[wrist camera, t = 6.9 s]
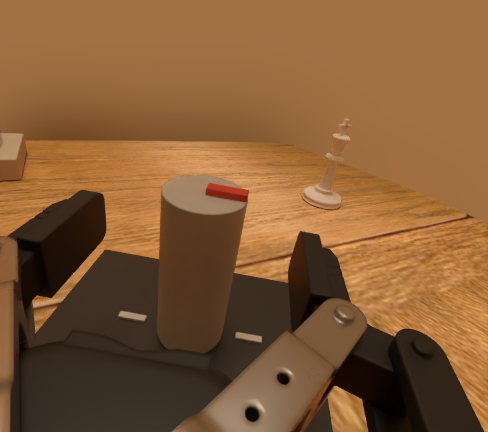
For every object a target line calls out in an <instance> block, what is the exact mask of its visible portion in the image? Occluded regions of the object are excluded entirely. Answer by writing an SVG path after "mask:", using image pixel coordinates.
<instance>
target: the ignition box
mask: <svg viewBox="0 0 488 432" xmlns="http://www.w3.org/2000/svg"><path fill="white" fill-rule="evenodd" d="M26 153H27V149H26V144H25V139H24V135H23V134H7V133H1V132H0V181H5V180H21V176H22V172H23V167H24V163H25V158H26Z"/></svg>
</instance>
